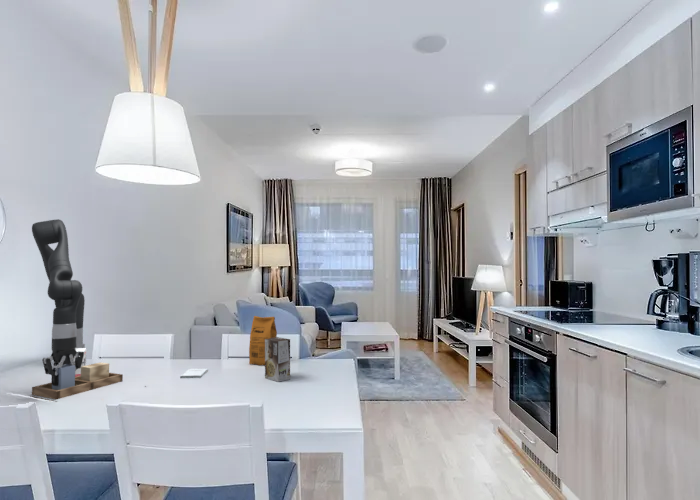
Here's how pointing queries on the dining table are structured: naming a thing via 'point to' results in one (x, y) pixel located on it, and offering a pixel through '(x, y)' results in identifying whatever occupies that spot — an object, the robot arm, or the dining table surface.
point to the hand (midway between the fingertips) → (63, 383)
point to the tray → (75, 387)
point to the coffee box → (277, 359)
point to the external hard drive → (194, 373)
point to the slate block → (65, 377)
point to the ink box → (78, 371)
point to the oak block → (95, 371)
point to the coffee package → (260, 338)
